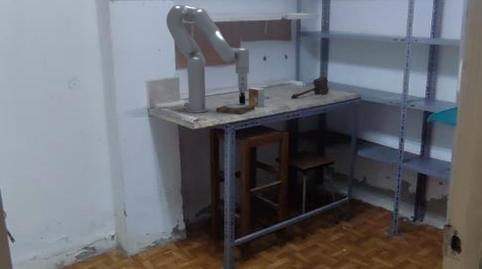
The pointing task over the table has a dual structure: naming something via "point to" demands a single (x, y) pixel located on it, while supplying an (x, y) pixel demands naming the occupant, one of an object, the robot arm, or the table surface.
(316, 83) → the hammer
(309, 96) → the table surface
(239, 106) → the round post pedestal
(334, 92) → the table surface
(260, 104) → the small box
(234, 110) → the stand base
